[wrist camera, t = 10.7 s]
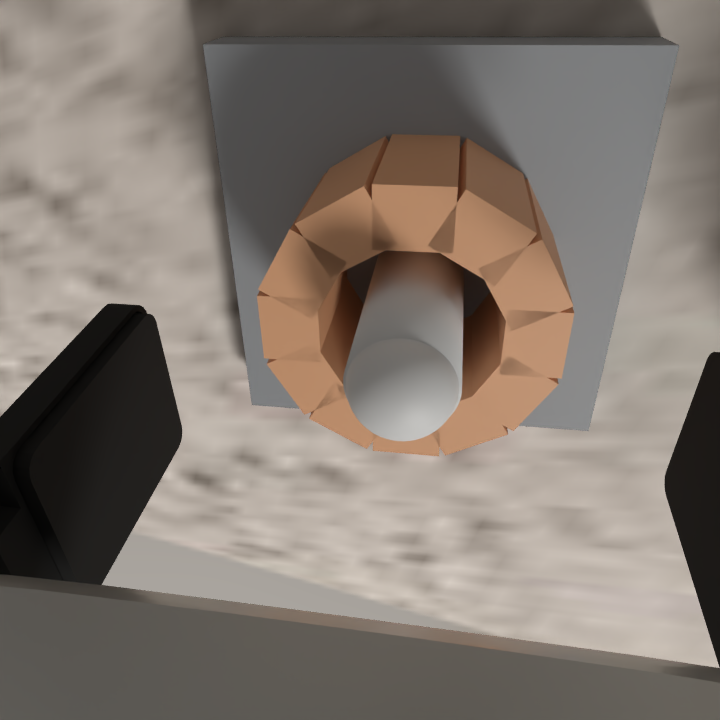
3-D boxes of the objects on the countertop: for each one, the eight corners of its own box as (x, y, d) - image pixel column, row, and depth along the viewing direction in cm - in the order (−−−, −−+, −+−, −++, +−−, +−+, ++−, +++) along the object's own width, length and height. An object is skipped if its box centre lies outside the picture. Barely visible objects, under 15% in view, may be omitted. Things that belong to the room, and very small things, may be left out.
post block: (222, 36, 17) (41, 105, 10) (661, 37, 15) (828, 118, 8) (263, 379, 23) (170, 577, 16) (581, 402, 21) (637, 631, 14)
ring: (289, 131, 16) (243, 180, 13) (570, 137, 15) (598, 191, 12) (306, 360, 20) (273, 442, 17) (532, 375, 19) (544, 465, 16)
